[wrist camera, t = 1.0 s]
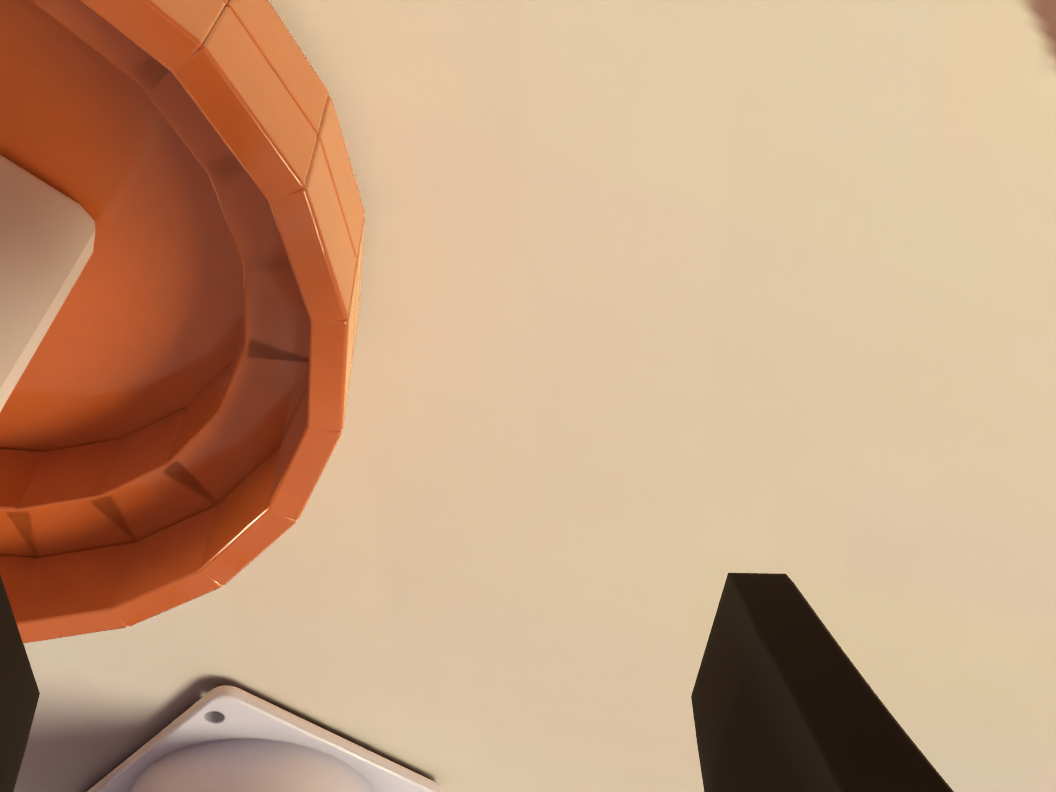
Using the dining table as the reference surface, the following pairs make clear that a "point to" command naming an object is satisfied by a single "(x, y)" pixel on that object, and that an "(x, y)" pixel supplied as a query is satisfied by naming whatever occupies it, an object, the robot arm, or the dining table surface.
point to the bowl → (172, 303)
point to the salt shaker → (35, 264)
